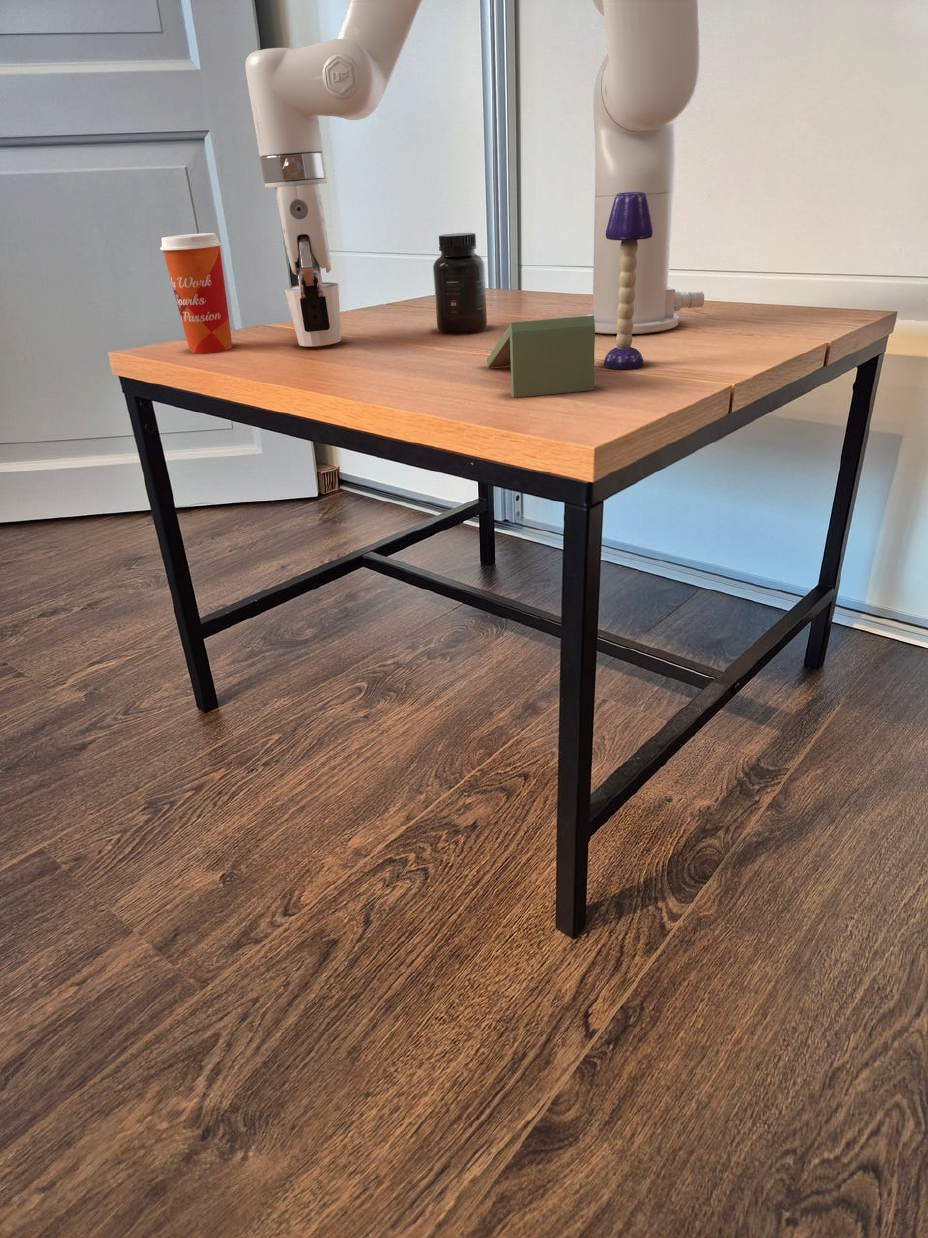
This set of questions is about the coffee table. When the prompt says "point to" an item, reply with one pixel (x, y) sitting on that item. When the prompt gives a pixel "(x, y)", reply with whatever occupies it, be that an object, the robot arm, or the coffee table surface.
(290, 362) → the coffee table surface
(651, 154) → the robot arm
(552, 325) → the green tent sign
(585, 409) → the coffee table surface
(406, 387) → the coffee table surface
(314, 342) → the white faceted cup
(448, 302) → the supplement bottle
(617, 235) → the toy lamp
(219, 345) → the paper cup
